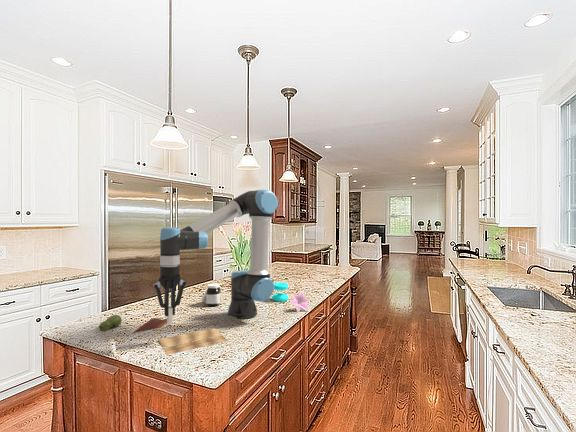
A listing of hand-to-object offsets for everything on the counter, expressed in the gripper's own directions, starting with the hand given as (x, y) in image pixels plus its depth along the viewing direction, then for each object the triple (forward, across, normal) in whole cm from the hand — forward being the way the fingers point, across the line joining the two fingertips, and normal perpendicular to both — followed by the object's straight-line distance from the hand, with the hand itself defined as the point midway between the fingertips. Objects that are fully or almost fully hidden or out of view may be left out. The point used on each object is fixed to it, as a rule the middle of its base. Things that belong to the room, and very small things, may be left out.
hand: (169, 323), depth 131 cm
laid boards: (+8, -8, +9) cm, 15 cm away
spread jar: (+8, -34, -47) cm, 58 cm away
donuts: (+8, -73, -33) cm, 81 cm away
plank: (+8, -8, +1) cm, 11 cm away
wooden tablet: (+9, +4, -23) cm, 25 cm away
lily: (+8, -71, -9) cm, 72 cm away
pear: (+9, +19, -34) cm, 40 cm away
